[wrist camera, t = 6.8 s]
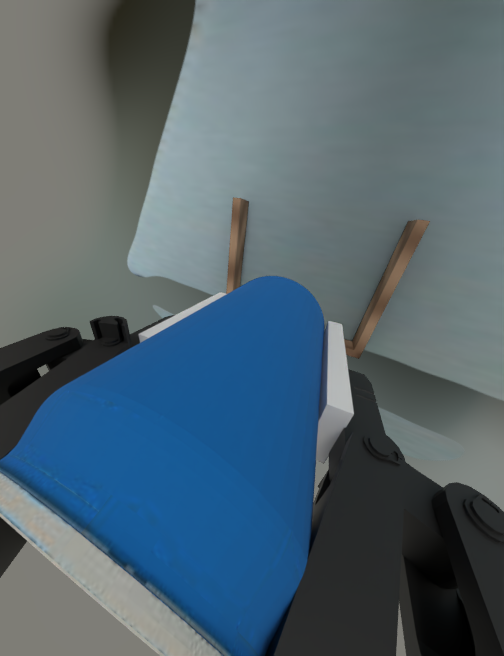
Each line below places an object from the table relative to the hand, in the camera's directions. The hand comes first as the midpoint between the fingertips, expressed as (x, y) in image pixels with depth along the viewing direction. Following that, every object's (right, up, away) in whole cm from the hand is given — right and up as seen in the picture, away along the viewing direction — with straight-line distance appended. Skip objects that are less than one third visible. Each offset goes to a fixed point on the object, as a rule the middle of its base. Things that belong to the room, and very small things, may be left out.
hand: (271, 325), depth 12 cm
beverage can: (0, 0, +1) cm, 1 cm away
